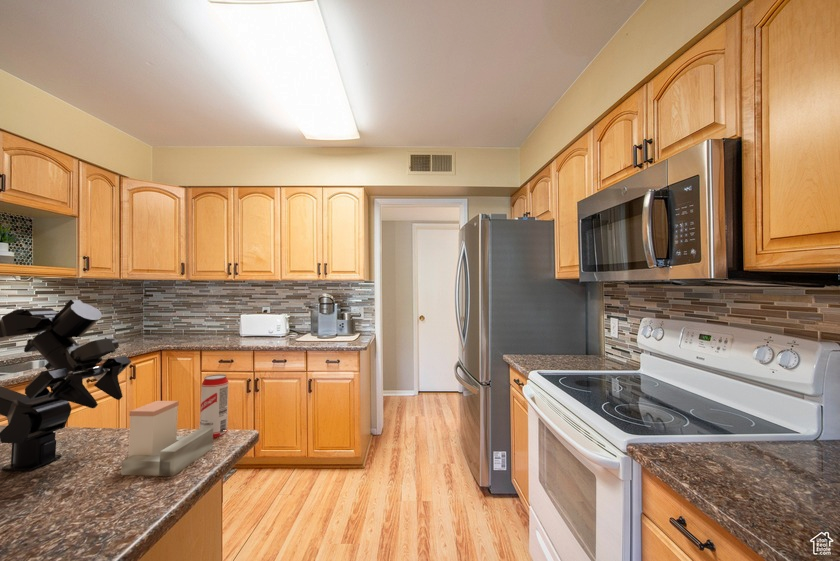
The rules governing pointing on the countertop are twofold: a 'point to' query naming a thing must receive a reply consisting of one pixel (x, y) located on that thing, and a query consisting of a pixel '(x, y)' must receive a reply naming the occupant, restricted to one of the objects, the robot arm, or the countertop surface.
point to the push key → (153, 428)
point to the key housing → (171, 455)
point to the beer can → (214, 404)
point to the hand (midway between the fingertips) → (108, 402)
